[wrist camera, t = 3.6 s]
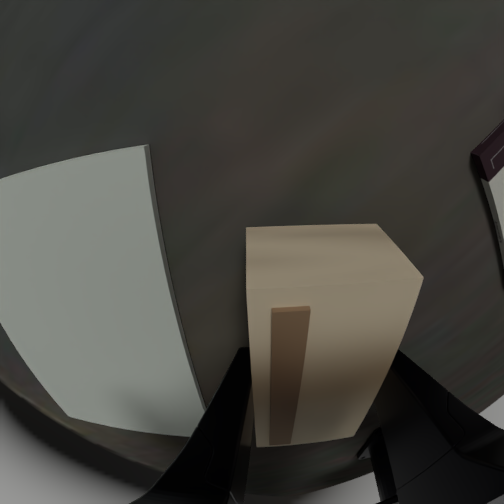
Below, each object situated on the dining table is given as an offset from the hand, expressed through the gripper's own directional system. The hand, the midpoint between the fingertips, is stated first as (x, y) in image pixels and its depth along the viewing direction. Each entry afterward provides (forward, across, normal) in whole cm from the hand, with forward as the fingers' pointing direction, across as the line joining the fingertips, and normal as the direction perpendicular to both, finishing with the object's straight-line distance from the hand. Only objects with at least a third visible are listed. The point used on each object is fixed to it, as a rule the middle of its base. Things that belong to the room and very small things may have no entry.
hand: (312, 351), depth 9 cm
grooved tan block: (+1, 0, 0) cm, 1 cm away
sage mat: (+3, +11, +2) cm, 12 cm away
